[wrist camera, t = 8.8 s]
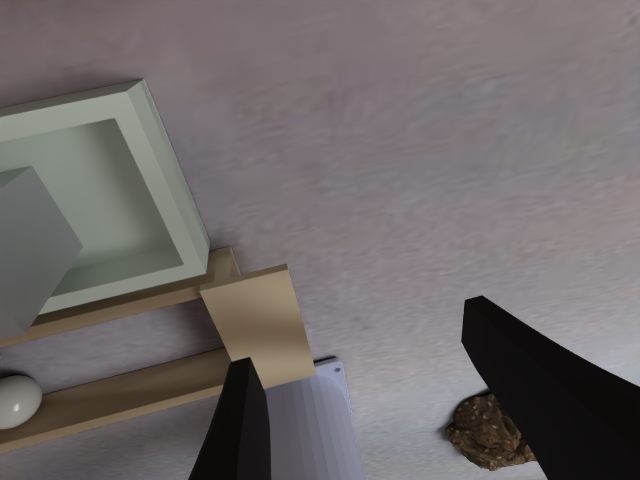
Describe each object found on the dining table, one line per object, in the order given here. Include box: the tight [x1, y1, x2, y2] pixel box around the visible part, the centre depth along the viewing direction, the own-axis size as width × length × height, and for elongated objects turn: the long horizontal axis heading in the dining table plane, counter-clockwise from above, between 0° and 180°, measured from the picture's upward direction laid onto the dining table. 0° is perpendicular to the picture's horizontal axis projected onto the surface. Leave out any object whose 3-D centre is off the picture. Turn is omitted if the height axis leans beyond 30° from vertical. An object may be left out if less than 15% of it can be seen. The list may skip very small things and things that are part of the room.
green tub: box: [0, 79, 210, 315], centre depth 16 cm, size 9×16×3 cm, turn 100°
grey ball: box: [0, 375, 42, 429], centre depth 22 cm, size 3×3×3 cm
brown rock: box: [446, 393, 537, 471], centre depth 36 cm, size 13×12×5 cm
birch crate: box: [0, 246, 316, 453], centre depth 21 cm, size 9×24×4 cm, turn 100°
